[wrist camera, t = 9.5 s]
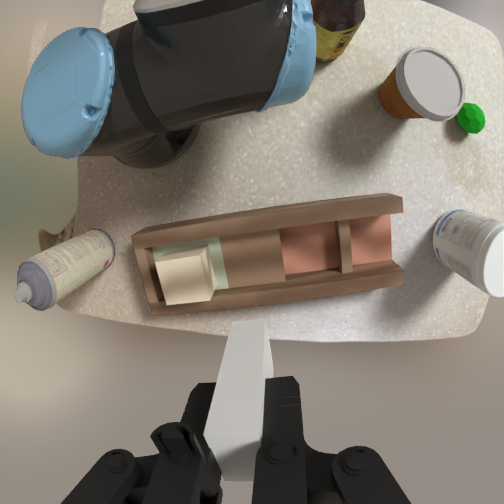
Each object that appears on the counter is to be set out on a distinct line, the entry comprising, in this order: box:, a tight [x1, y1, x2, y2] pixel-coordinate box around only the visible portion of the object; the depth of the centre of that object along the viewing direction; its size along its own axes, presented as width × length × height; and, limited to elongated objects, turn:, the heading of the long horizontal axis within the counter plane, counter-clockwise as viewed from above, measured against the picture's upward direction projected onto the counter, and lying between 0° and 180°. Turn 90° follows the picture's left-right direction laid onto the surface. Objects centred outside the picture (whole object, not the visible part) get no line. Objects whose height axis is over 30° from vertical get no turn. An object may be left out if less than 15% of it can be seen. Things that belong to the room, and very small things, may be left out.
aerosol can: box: [14, 229, 115, 311], centre depth 36 cm, size 7×7×20 cm
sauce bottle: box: [311, 0, 365, 62], centre depth 25 cm, size 7×6×20 cm
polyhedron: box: [457, 103, 485, 133], centre depth 33 cm, size 5×5×5 cm
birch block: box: [155, 245, 217, 305], centre depth 40 cm, size 6×6×5 cm
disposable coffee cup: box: [379, 46, 465, 121], centre depth 30 cm, size 10×10×12 cm
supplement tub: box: [433, 209, 504, 298], centre depth 34 cm, size 10×10×15 cm
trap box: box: [131, 193, 404, 315], centre depth 41 cm, size 12×36×6 cm, turn 99°
